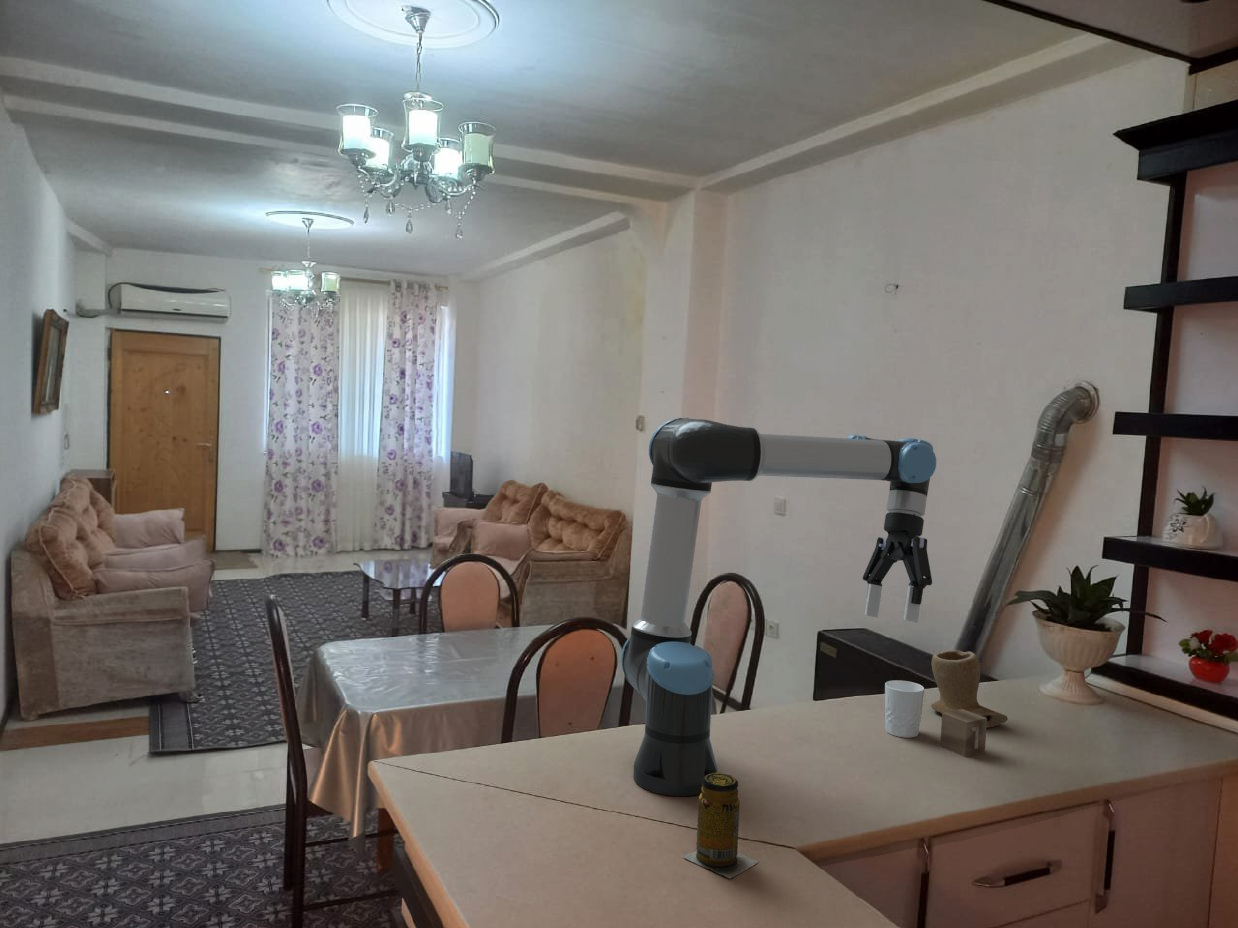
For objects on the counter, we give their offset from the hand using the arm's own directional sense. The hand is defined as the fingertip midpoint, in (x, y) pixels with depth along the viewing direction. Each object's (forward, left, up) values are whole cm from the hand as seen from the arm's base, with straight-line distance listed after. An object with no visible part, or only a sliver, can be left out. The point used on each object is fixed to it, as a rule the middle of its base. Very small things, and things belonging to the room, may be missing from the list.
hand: (890, 618), depth 178 cm
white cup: (+8, +8, -26) cm, 29 cm away
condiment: (-46, -41, -27) cm, 67 cm away
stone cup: (+26, +15, -26) cm, 40 cm away
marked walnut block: (+16, -2, -26) cm, 31 cm away
